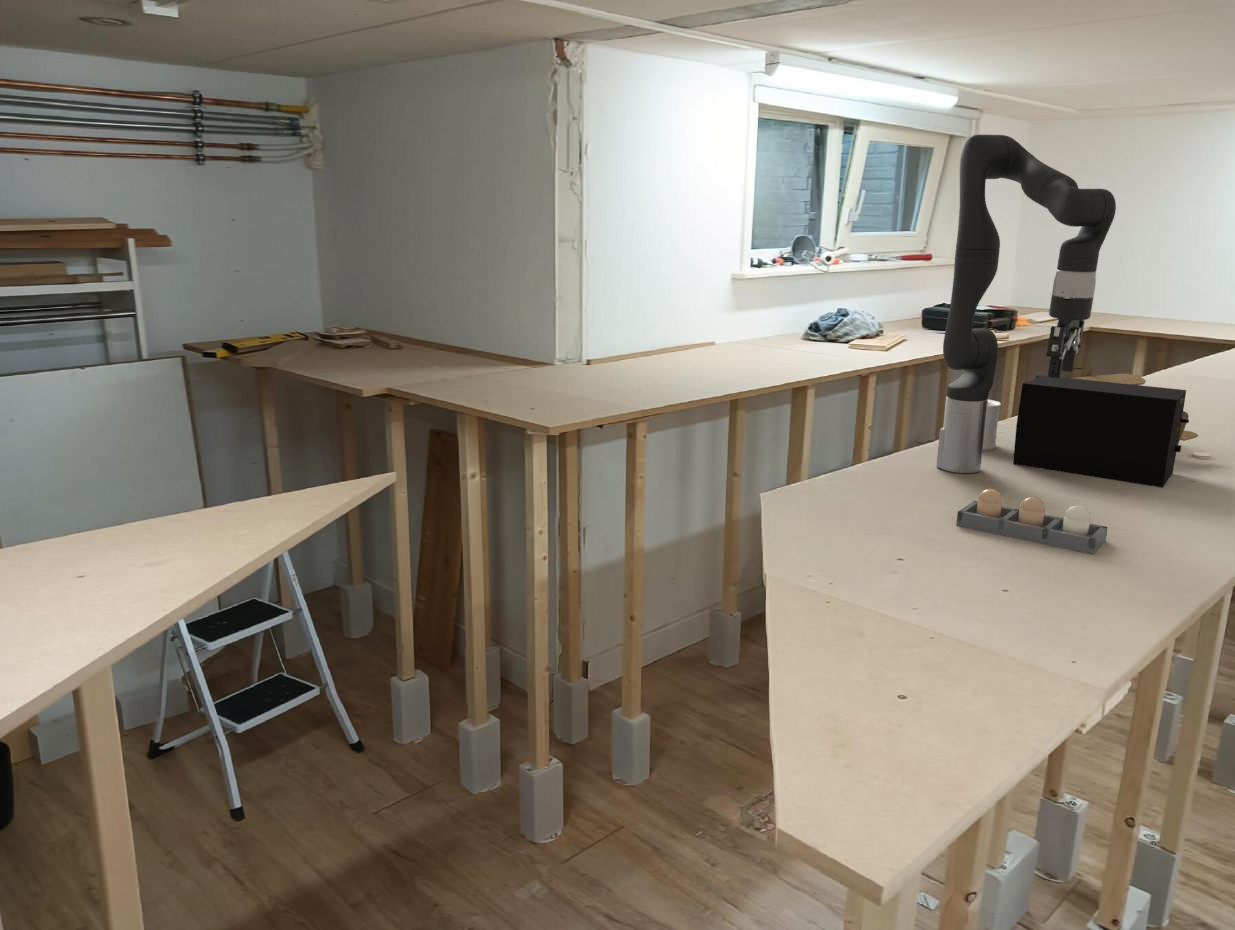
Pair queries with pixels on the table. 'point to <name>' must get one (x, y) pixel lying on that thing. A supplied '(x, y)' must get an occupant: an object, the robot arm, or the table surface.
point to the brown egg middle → (1032, 511)
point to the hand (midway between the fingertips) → (1060, 374)
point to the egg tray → (1032, 529)
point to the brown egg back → (989, 503)
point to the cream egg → (1076, 520)
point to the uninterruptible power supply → (1099, 429)
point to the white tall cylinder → (991, 425)
